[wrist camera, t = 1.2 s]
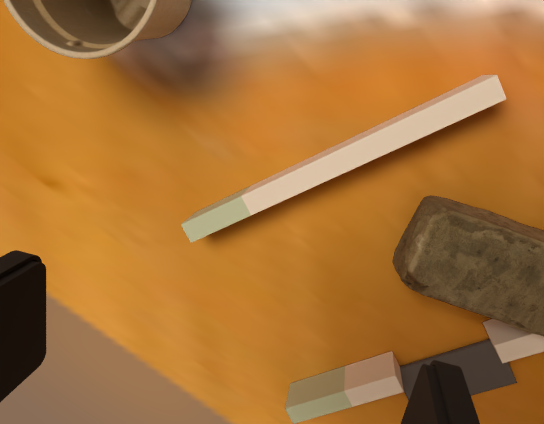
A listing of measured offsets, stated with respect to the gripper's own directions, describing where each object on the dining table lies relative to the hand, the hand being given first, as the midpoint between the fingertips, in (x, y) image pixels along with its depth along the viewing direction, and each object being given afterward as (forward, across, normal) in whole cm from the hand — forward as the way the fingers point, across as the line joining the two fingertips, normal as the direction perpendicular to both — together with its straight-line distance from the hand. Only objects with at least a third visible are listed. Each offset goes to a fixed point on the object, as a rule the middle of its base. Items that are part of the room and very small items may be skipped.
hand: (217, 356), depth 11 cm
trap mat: (+22, -14, +14) cm, 30 cm away
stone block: (+23, -9, +3) cm, 25 cm away
